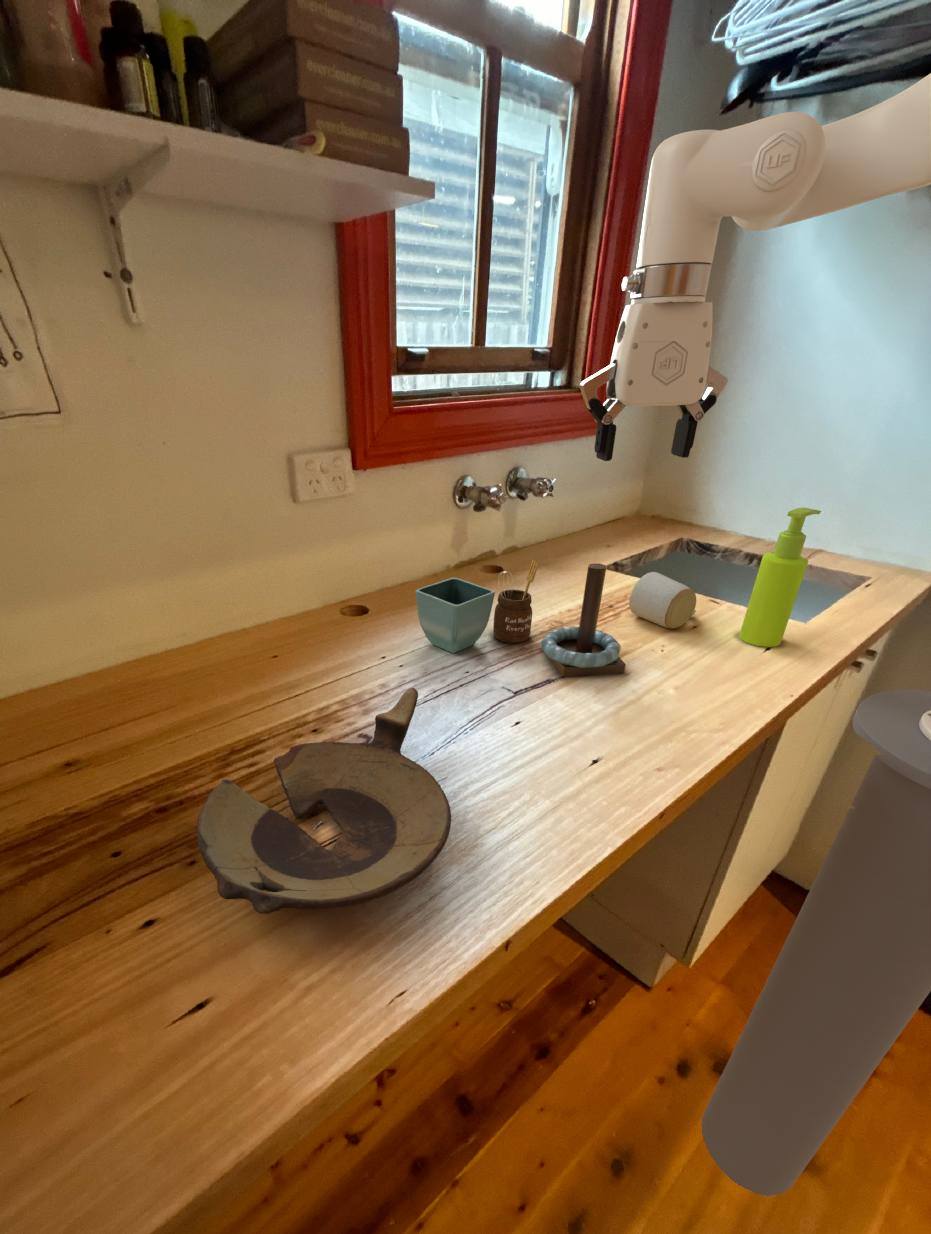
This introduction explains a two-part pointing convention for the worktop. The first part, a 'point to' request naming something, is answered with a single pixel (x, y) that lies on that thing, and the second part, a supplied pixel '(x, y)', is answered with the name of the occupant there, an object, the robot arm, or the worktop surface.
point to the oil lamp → (358, 802)
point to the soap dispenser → (777, 585)
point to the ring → (578, 658)
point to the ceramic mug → (662, 600)
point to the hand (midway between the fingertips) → (641, 457)
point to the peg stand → (589, 628)
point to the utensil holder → (514, 612)
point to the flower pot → (454, 612)
